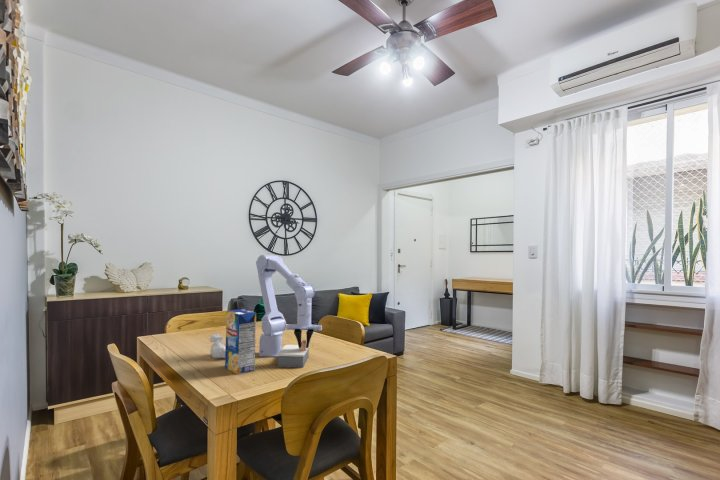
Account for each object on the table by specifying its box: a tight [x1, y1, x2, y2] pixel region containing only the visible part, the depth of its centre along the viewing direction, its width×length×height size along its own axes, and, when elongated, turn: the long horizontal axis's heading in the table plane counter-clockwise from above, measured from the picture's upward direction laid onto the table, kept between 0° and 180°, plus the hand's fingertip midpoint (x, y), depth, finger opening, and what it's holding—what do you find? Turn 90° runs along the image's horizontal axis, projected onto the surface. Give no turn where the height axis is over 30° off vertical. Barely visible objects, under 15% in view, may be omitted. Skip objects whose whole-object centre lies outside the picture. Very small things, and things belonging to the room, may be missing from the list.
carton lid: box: [277, 339, 310, 357], centre depth 149 cm, size 10×14×4 cm
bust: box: [209, 333, 226, 359], centre depth 153 cm, size 12×8×11 cm
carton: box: [277, 347, 310, 369], centre depth 149 cm, size 10×14×4 cm
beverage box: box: [224, 308, 257, 375], centre depth 139 cm, size 7×11×22 cm, turn 44°
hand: (303, 347), depth 149 cm, fingers closed
